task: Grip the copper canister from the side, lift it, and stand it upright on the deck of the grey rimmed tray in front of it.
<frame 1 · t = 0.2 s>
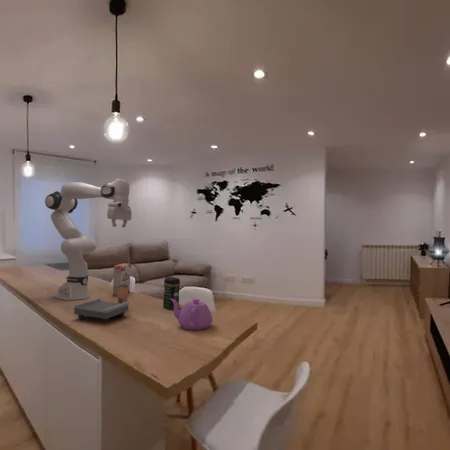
hand: (119, 227, 208), 47 cm above the countertop, tool pointing down, fingers open, 8 cm apart
teakettle: (190, 326, 168), on the countertop
coffee jar: (171, 308, 202), on the countertop
canister: (122, 310, 193), on the countertop
cracker box: (121, 294, 233), on the countertop
grey rimmed tray: (102, 310, 177), point 4 cm above the countertop, slide at 0.0 cm
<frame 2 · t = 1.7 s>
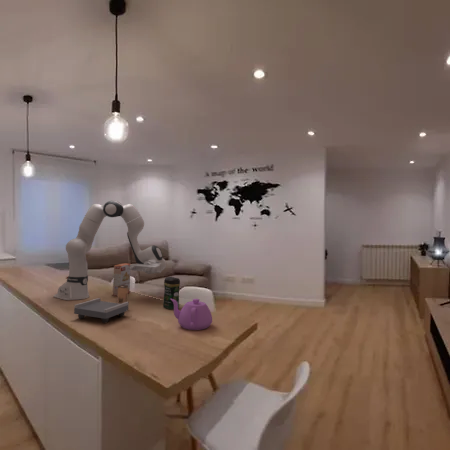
hand: (137, 269, 206), 22 cm above the countertop, tool horizontal, fingers open, 8 cm apart
nothing on the countertop moved.
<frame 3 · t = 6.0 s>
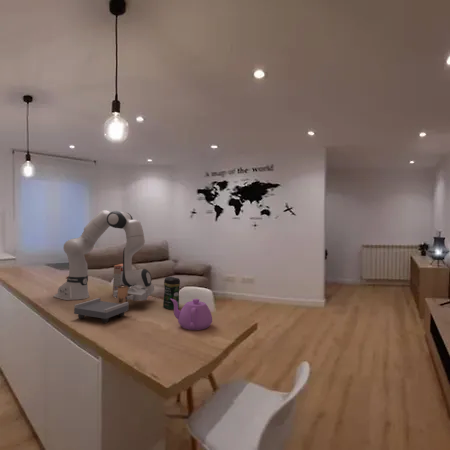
hand: (121, 297, 192), 8 cm above the countertop, tool horizontal, fingers closed on canister, 6 cm apart
canister: (121, 310, 193), on the countertop, touching gripper
everything else where it was.
when the fingers open (15 cm above the countertop, at t = 12.0 s): canister drops 1 cm, resting on grey rimmed tray.
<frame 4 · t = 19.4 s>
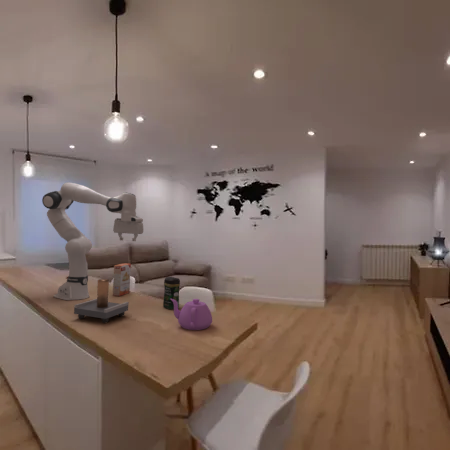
hand: (127, 240, 208), 39 cm above the countertop, tool pointing down, fingers open, 8 cm apart
canister: (102, 306, 177), point 6 cm above the countertop, touching grey rimmed tray
grey rimmed tray: (102, 310, 177), point 4 cm above the countertop, slide at 0.0 cm, touching canister
everything else where it was.
at the end: canister inside the target area on the grey rimmed tray (0.1 cm from its centre), point 6.0 cm above the grey rimmed tray's base; canister tilted 0°; the gripper is holding nothing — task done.
